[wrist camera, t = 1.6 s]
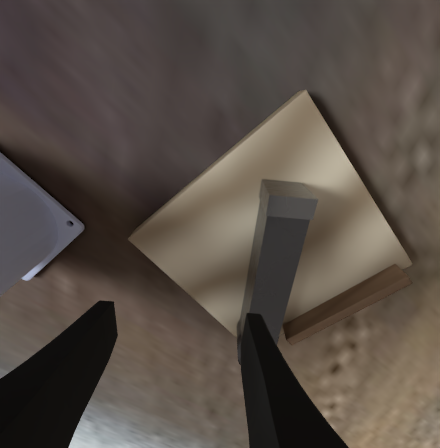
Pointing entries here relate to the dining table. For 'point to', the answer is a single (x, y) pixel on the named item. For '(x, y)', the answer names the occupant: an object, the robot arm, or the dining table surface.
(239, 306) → the stool seat
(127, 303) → the dining table surface
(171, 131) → the dining table surface
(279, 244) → the folding leg
